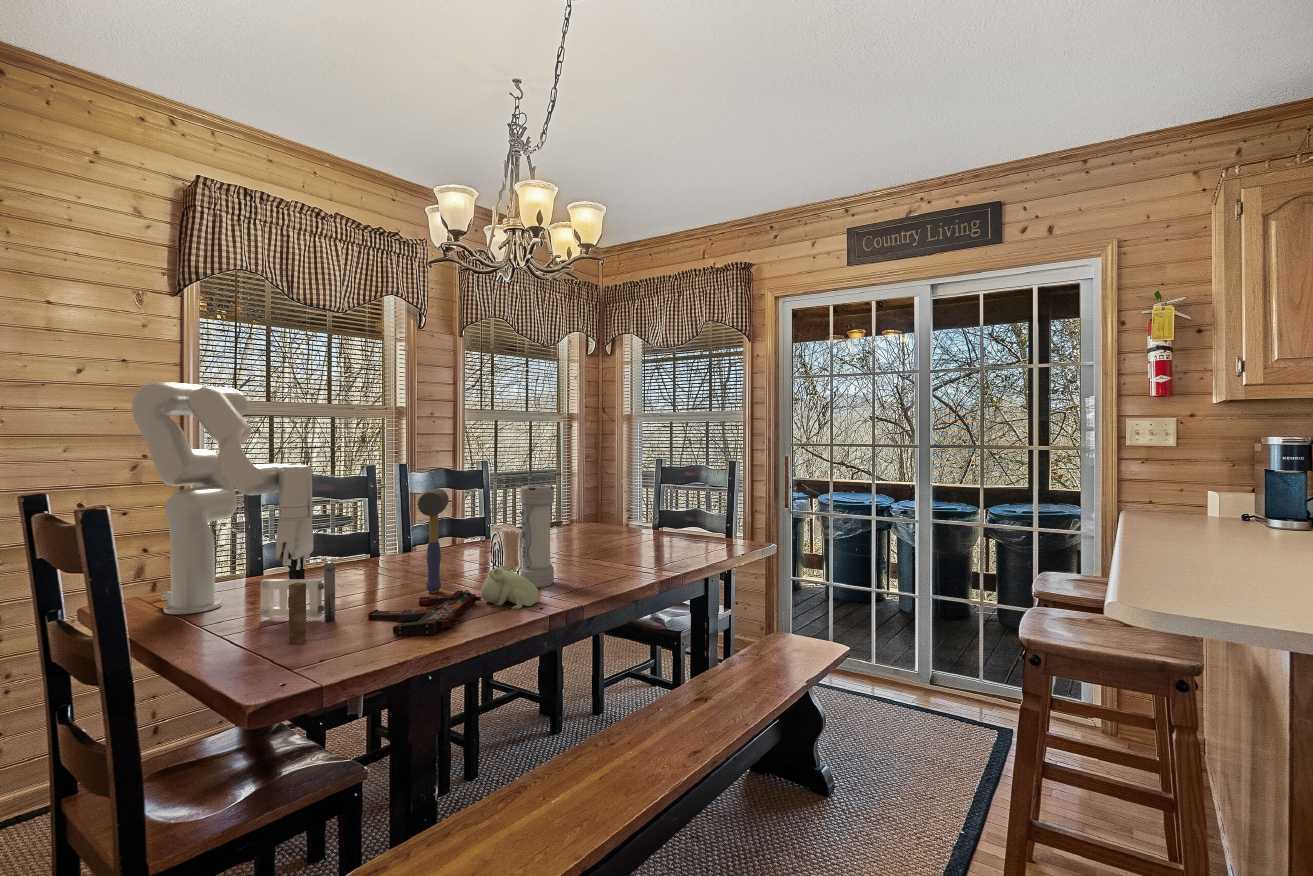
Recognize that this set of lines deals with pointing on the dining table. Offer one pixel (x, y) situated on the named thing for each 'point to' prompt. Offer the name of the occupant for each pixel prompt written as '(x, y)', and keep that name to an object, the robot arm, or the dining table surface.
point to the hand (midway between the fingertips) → (296, 584)
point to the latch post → (297, 613)
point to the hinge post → (329, 591)
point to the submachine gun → (429, 614)
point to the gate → (283, 584)
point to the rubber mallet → (433, 533)
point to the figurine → (509, 588)
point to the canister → (536, 534)
